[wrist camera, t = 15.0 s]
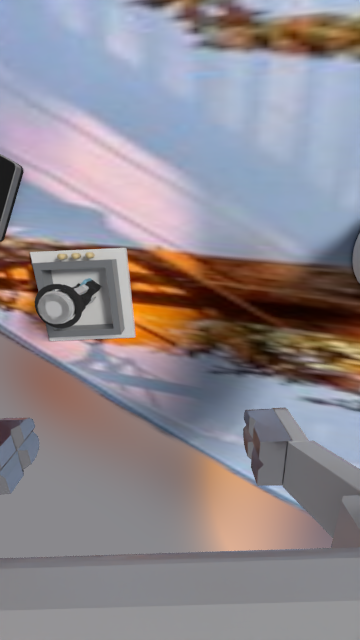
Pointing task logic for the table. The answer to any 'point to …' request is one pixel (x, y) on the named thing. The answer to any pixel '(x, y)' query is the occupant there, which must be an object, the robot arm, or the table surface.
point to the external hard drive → (8, 190)
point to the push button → (64, 302)
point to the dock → (111, 300)
